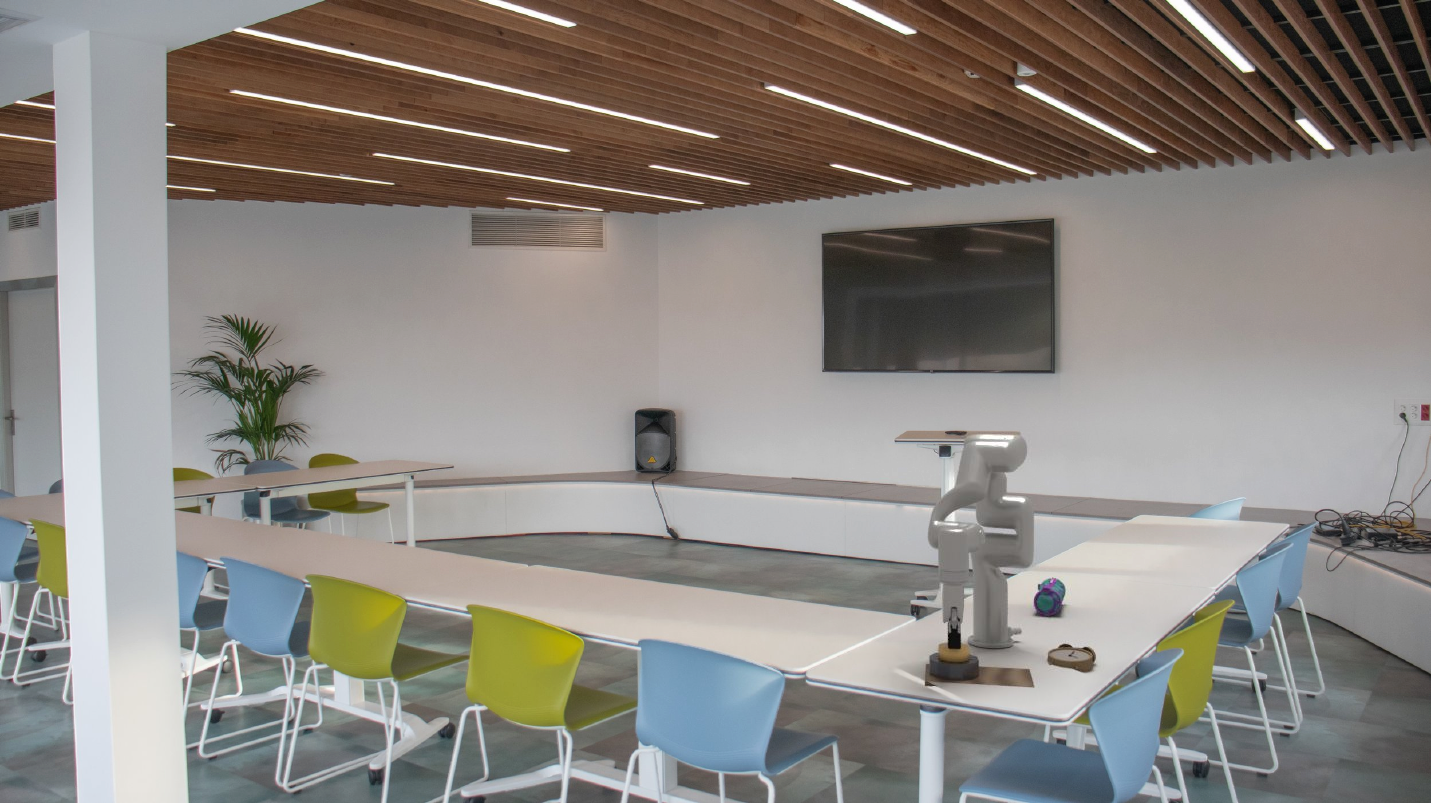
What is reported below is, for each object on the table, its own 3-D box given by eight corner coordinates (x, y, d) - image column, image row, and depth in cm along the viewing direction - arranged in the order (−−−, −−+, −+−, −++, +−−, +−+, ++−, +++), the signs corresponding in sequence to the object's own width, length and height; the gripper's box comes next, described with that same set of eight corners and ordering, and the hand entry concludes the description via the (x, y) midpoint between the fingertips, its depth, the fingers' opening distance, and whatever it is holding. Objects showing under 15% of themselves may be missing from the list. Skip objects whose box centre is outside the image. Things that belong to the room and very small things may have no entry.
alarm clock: (1041, 657, 272) (1059, 636, 284) (1042, 675, 273) (1060, 652, 284) (1084, 664, 265) (1102, 642, 277) (1085, 682, 266) (1103, 659, 278)
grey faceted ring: (959, 664, 271) (959, 649, 271) (988, 677, 260) (988, 661, 260) (920, 670, 267) (920, 654, 266) (947, 682, 255) (947, 666, 255)
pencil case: (1037, 603, 350) (1037, 574, 350) (1065, 605, 347) (1065, 576, 346) (1032, 616, 331) (1032, 586, 330) (1062, 618, 327) (1062, 588, 327)
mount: (1029, 673, 267) (1029, 668, 267) (1034, 692, 251) (1034, 687, 251) (926, 668, 273) (926, 663, 273) (924, 685, 257) (924, 681, 257)
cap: (957, 668, 268) (957, 641, 268) (975, 675, 261) (975, 648, 261) (932, 671, 265) (932, 644, 265) (950, 679, 258) (949, 651, 258)
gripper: (938, 568, 272) (939, 633, 273) (938, 583, 255) (938, 652, 256) (968, 569, 270) (968, 634, 271) (969, 584, 254) (970, 653, 254)
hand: (954, 643), depth 264 cm, fingers open, 9 cm apart
